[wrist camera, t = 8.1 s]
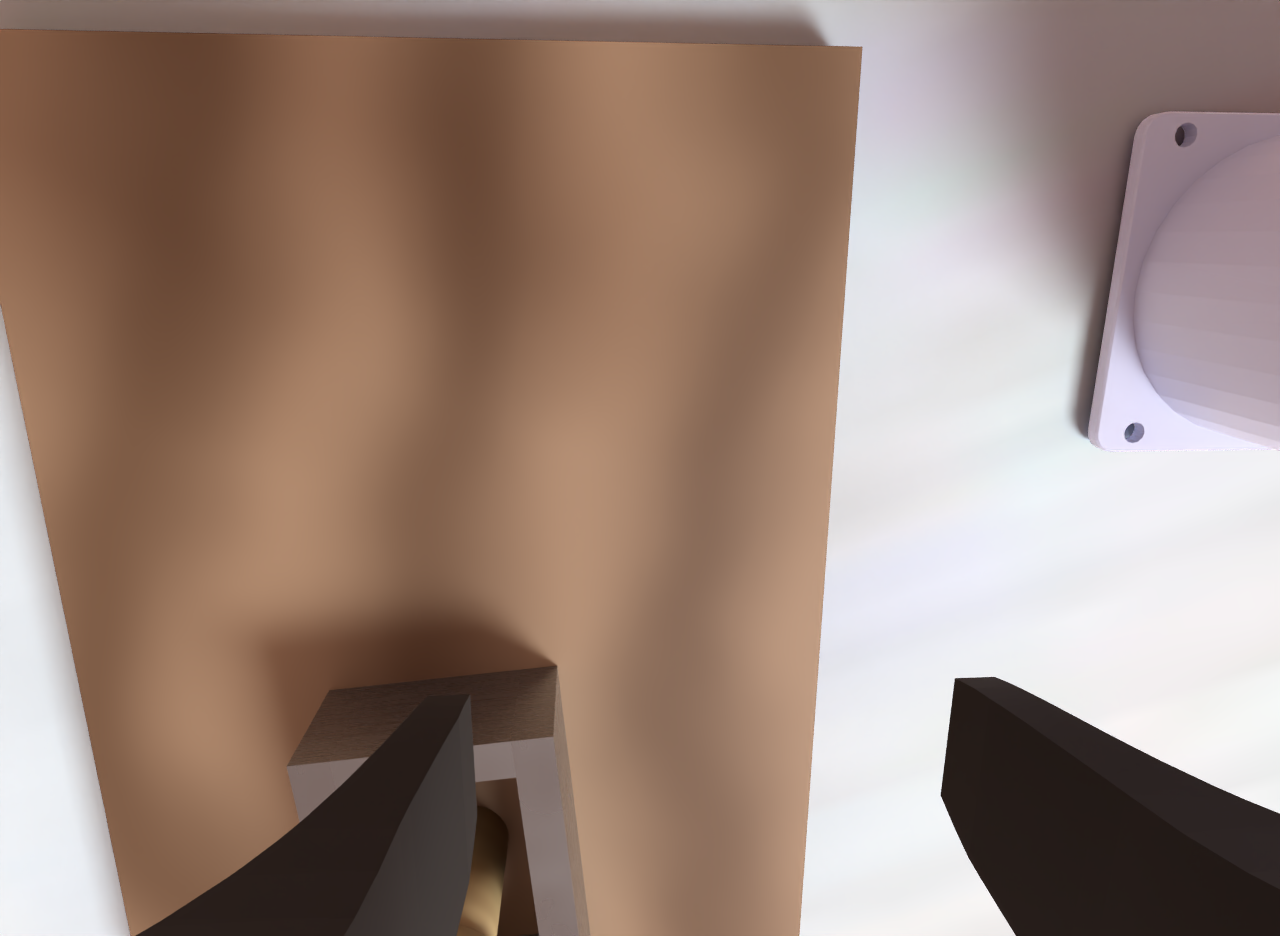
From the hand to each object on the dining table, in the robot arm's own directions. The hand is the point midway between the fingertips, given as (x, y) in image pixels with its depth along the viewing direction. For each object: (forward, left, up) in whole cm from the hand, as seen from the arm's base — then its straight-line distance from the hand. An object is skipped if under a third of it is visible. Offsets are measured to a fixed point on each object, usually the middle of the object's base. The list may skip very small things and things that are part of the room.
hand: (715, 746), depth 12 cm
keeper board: (+5, +1, -9) cm, 11 cm away
